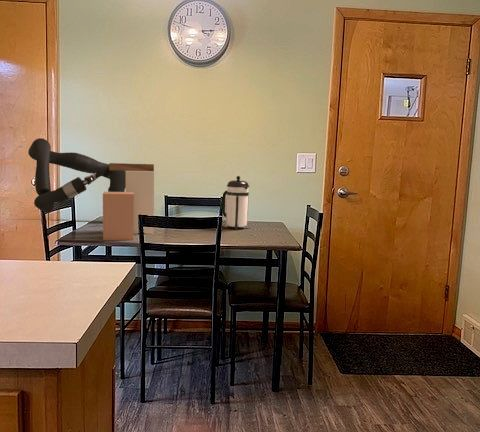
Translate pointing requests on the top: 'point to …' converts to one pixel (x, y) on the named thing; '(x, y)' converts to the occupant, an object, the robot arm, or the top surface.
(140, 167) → the walnut bar
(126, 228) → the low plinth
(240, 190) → the coffee press
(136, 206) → the tall plinth
